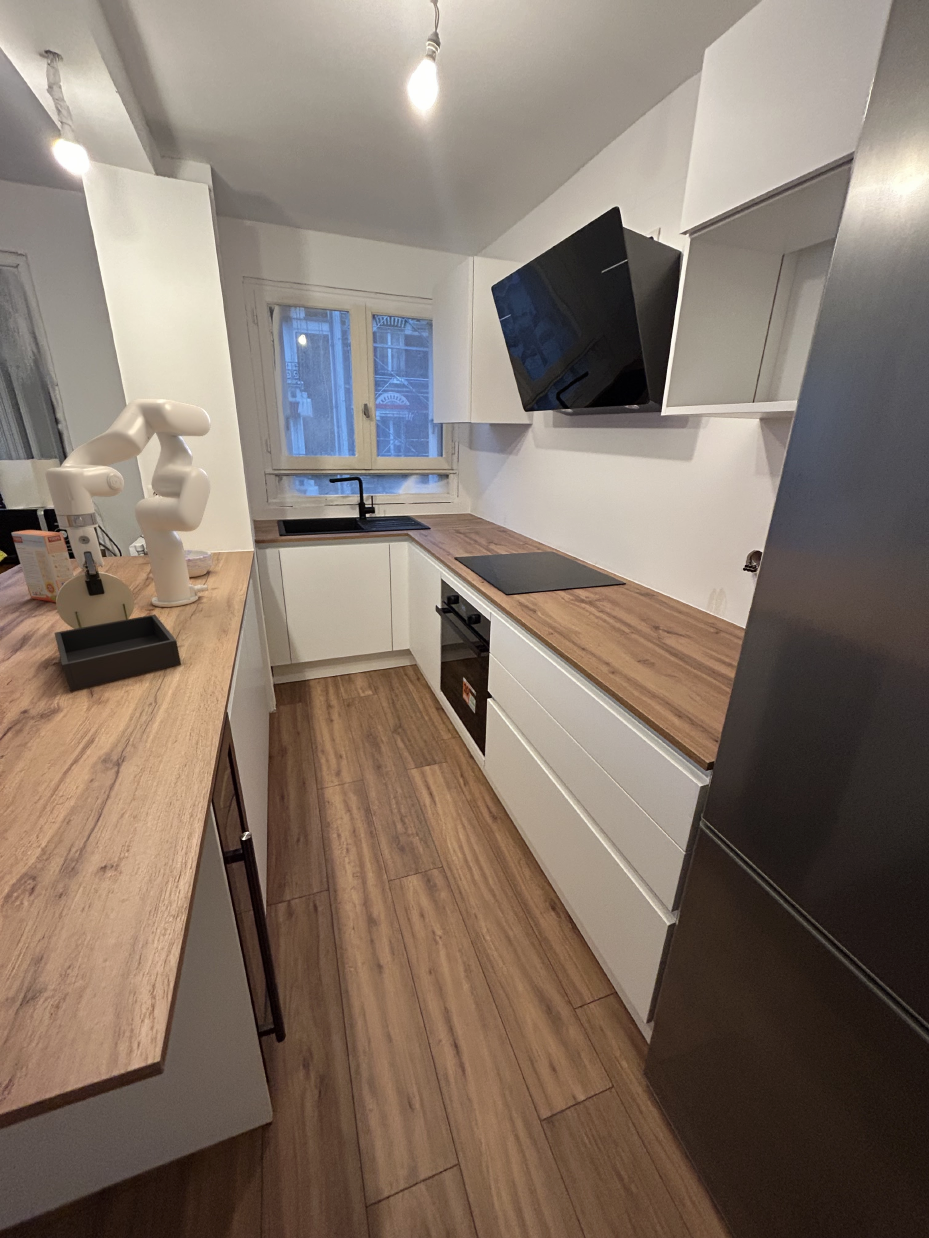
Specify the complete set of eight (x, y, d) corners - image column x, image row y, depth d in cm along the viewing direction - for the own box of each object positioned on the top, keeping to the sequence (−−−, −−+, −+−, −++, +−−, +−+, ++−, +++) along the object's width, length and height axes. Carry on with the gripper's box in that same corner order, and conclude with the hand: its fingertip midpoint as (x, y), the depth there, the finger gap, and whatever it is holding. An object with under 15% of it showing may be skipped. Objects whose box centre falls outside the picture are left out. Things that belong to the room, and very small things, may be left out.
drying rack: (139, 620, 135) (133, 596, 132) (144, 628, 129) (138, 604, 127) (66, 634, 125) (59, 608, 122) (69, 643, 119) (61, 617, 117)
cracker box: (81, 598, 152) (63, 532, 145) (61, 604, 147) (41, 535, 139) (51, 593, 156) (32, 528, 149) (30, 598, 151) (9, 531, 144)
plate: (140, 622, 132) (124, 566, 126) (141, 623, 132) (125, 567, 125) (68, 639, 123) (46, 579, 117) (68, 641, 122) (46, 580, 116)
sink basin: (159, 636, 125) (155, 614, 123) (181, 664, 110) (176, 640, 107) (61, 656, 112) (54, 632, 110) (70, 692, 97) (62, 665, 95)
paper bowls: (201, 580, 173) (197, 558, 171) (159, 579, 174) (154, 557, 171) (221, 569, 188) (218, 549, 185) (182, 569, 188) (179, 548, 185)
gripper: (101, 523, 114) (119, 598, 120) (92, 515, 125) (109, 584, 131) (60, 527, 109) (81, 604, 116) (55, 518, 120) (75, 589, 127)
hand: (96, 593), depth 123 cm, fingers closed
